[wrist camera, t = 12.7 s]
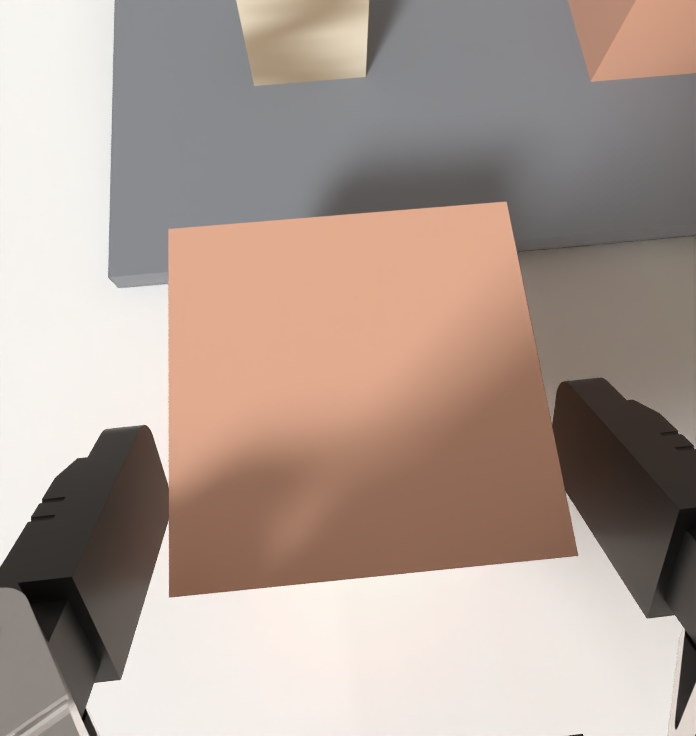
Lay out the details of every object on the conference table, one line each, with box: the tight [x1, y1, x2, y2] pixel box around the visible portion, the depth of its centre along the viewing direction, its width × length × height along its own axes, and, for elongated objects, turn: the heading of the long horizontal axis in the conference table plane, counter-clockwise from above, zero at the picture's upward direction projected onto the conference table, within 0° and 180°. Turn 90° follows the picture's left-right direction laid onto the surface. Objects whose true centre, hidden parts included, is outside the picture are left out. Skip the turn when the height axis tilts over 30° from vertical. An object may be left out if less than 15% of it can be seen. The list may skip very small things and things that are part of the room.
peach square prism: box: [168, 202, 578, 597], centre depth 12 cm, size 6×6×8 cm
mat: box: [108, 0, 696, 288], centre depth 20 cm, size 26×18×1 cm
